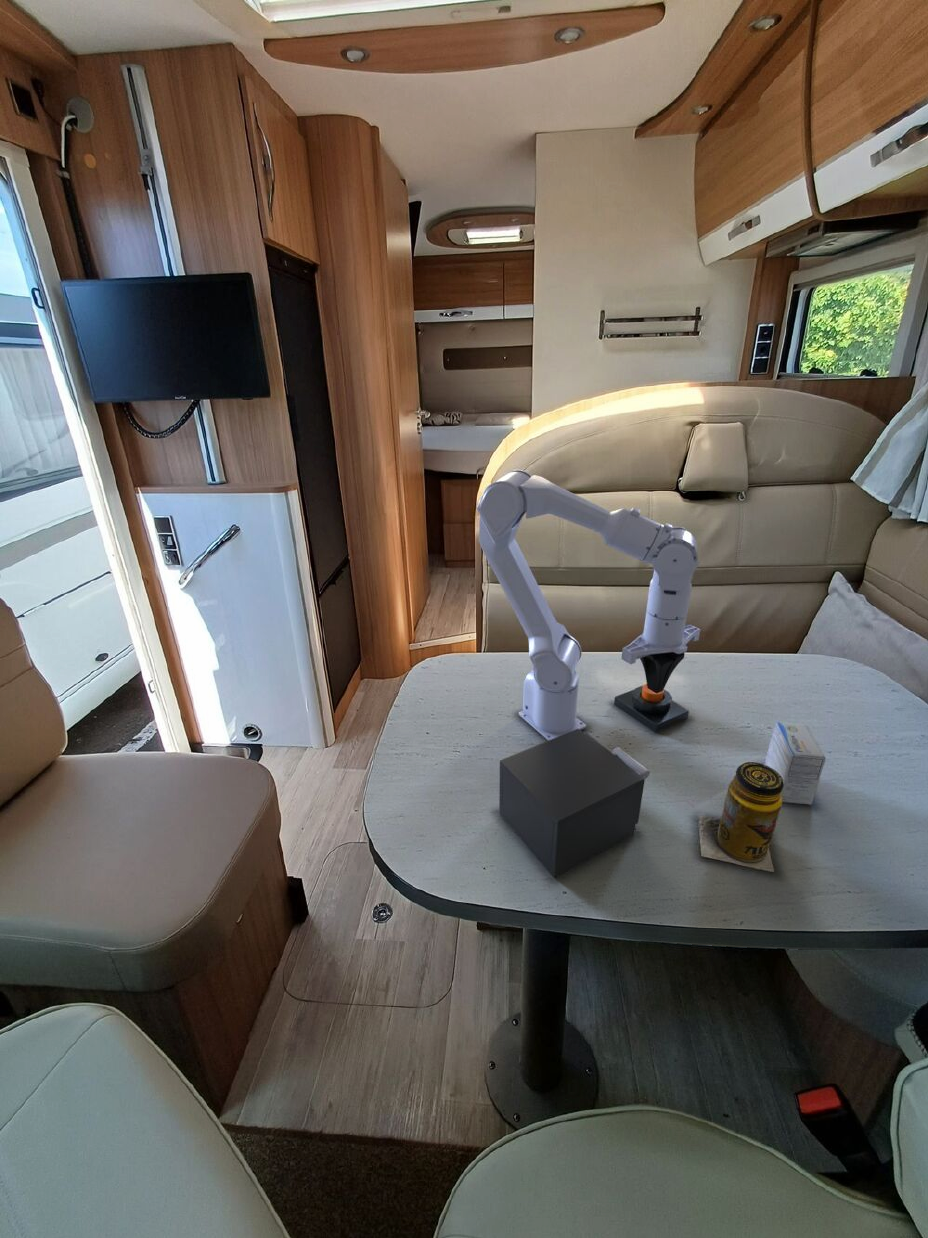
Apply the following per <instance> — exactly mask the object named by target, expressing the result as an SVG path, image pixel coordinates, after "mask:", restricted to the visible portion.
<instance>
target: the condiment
mask: <svg viewBox="0 0 928 1238" xmlns="http://www.w3.org/2000/svg"><path fill="white" fill-rule="evenodd" d="M735 770H736V771H735V775H734V776H733V779H732V780H731V781H730V783H729V784H728V788H727V792H726V796H725V800H724V805H723V809H722V812H721V816H720V817H721V818H717V817H711V816H709V815H704V814H697V818H698V819H697V821H698V833H699V845H700V846H699V847H700V856H701V857H703V858H709V859H712V860H718V861H722V862H728V863H732V864H735V865H739V866H743V867H748V868H752V869H756V870H762V871H766V872H771V873H772V872H773V873H774V872H775V869H774V865H773V861H772V857H771V852H770V844H771V843H772V838H773V835H774V832H775V828H776V826H777V821H778V818H779V815H780V812H781V809H782V804H783V802H782V798H781V793H782V789H783V787H784V784H783V779H782V777H781V776H780V775H779V773H778V772H777V771H775V770H774V769H772V768H771V767H769V766H767V765H765V763H760V762H757V761H756V762H755V761H747V762H744V763H742V764H740V765H739V766H738V767H737V768H736V769H735Z"/></svg>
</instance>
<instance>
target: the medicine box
mask: <svg viewBox="0 0 928 1238" xmlns="http://www.w3.org/2000/svg"><path fill="white" fill-rule="evenodd" d="M825 763H826V756H825V754H824V752H823V751H822V749H821V748H820V746H819V744H818V742H817V740H816V739H815V737H814V735H813V734H812V732H811V730H810V728H809V727H808V725H807V724H803V723H793V722H780V721H779V722H778V721H777V722H775V724H774V727H773V729H772V735H771V739H770V742H769V746H768V750H767V753H766V758H765V762H764V765H767V766H769V767H771V768H772V769H774V770H775V771H777V772H778V773H779V775H780V776H781V777H782V779H783V784H784V787H783V789H782V793H781V798H782V803H788V804H789V803H790V804H799V805H800V804H802V805H808V806H809V805H810V806H811V805H812V804H813V802H814V799H815V795H816V792H817V788H818V786H819V783H820V778H821V776H822V772H823V769H824V766H825Z"/></svg>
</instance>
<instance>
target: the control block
mask: <svg viewBox="0 0 928 1238" xmlns="http://www.w3.org/2000/svg"><path fill="white" fill-rule="evenodd" d="M644 685H645V684H644ZM644 685H643V684H642V685H640V686H637V687H635V688H634V689H631V690H629V691H626V692H624V693H622V694H621V693H620V694H618V695H615V697H614V701H613V705H614V706H616V707H617V708H619V709H620V710H621V711H623V712H624V713H626V714H627V715H628V716H630V717H631V718H633V719H635V720H636V721H637V722H639V723H640V724H641V725H643V726H645V727H646V728H647V729H649V730H650V731H652V732H653V733H655V734H656V733H658V732H660V731H663V730H665V729H667V728H669V727H671V726H674V725H676V724H678V723H680V722H683V721H685V720H687V719H688V717H689V714H690V713H689V712H690V710H688V709H687V708H685V707H683V706H682V705H681V704H679V703H677V702H675V701H674V700H673V697H672V695H671V693H670V692H669V691H668V690H666V689H664V694H663V699H662V701H660V702H651V701H647V700H645V699H644V698H642V689H643V686H644Z"/></svg>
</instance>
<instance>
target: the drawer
mask: <svg viewBox="0 0 928 1238" xmlns="http://www.w3.org/2000/svg"><path fill="white" fill-rule="evenodd" d="M584 734H585V735H587V736H588V737H589V738H590V739H592V740H593V741H594V742H595V743H597V744H598V745H599V746H600V747H602V748H603V749H604V750H605V751H607V752H608V753H609V754H611V755H612V756H613V757H614V758H616V759H617V760H618V761H619V762H621V763H622V764H623V765H624V766H626V767H627V768H628V769H629V770H631V771H632V772H633V773H634V774H636V775H637V776H638V777H639V778H641V779H642V784H641V785H642V786H641V793H640V800H639V806H638V813H637V819H636V825H637V824H639V820H640V813H641V807H642V802H643V801H642V799H643V794H644V787H645V781H646V779H648V777H649V776H650V774H651V772H650V770H649V769H648V768H646V767H645V766H644V765H642V764H641V763H640V762H638V761H637V760H636V759H634V758H633V757H632V756H630V755H629V754H628V753H627V752H626V751H624V750H623V749H622V748H620V747H619V746H617V747H614V749H613V750H612V752H611V751H610V750H609V749H608V748H606V747H605V746H604V745H602V744H601V743H600V742H598V741H597V740H596V739H595V738H593V737H592V736H591V735H590V734H588V733H586V732H585V733H584Z"/></svg>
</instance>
